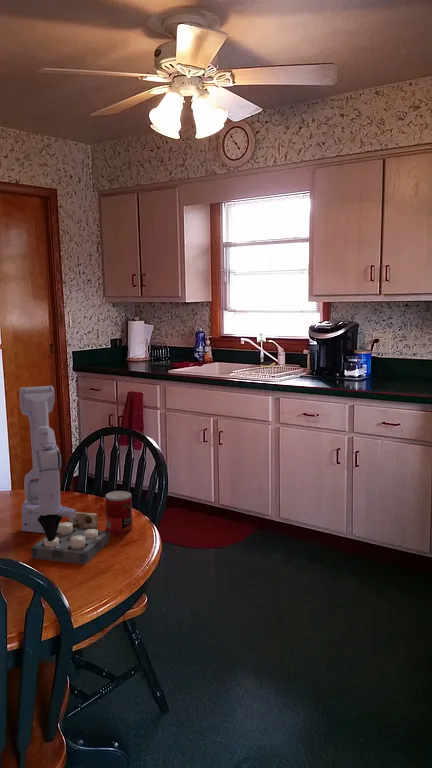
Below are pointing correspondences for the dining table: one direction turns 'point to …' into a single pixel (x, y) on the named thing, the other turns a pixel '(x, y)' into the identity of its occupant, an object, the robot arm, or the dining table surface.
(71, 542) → the button near right
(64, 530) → the button far left
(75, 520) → the pattern plaque
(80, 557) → the button board
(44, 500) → the robot arm
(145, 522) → the dining table surface
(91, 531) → the button far right
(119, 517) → the canned food
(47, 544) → the button near left
